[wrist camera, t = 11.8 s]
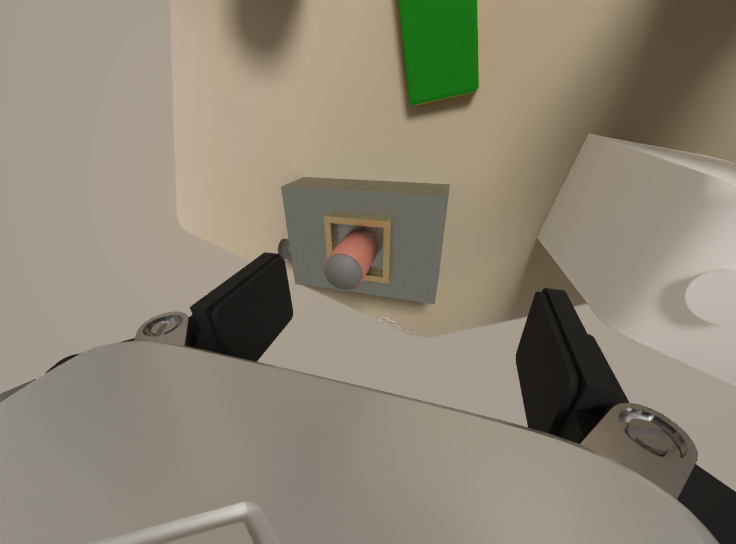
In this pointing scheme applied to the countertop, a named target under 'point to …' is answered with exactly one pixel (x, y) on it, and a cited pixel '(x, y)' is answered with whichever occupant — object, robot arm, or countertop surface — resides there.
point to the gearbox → (379, 218)
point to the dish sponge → (439, 48)
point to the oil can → (351, 260)
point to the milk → (652, 247)
